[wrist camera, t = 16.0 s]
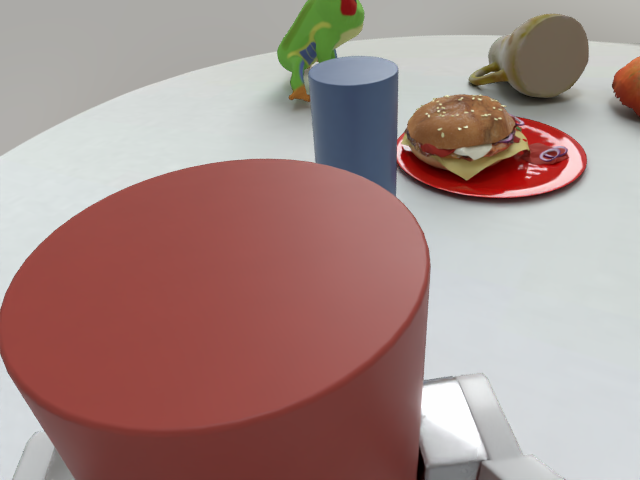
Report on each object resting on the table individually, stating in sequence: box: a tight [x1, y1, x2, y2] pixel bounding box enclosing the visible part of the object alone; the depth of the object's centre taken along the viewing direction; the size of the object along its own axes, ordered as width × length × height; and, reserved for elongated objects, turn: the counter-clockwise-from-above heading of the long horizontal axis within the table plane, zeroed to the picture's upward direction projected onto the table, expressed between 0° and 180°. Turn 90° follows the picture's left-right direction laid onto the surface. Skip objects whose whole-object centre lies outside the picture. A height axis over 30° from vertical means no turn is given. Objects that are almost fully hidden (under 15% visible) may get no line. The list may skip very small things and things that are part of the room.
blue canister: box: [308, 56, 398, 197], centre depth 31 cm, size 5×5×10 cm
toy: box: [277, 0, 364, 102], centre depth 53 cm, size 14×9×10 cm, turn 178°
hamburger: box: [397, 94, 587, 198], centre depth 39 cm, size 14×14×6 cm
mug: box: [469, 14, 589, 98], centre depth 49 cm, size 8×10×10 cm
